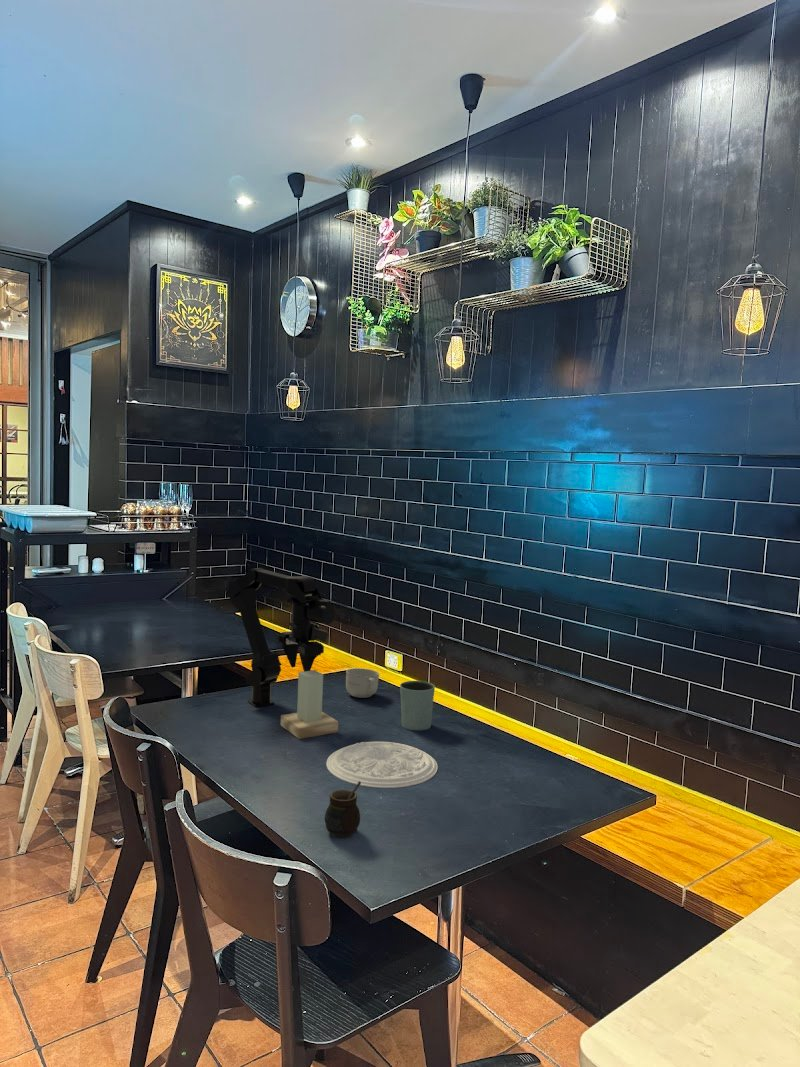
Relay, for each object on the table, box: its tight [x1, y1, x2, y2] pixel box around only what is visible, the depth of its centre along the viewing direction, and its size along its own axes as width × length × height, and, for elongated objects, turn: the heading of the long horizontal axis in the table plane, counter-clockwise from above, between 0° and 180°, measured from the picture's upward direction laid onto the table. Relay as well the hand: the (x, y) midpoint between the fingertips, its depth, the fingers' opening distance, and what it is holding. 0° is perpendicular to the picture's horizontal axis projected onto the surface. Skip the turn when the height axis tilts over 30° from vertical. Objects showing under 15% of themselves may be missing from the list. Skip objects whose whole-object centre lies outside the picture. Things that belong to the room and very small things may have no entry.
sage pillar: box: [296, 669, 324, 722], centre depth 213 cm, size 5×5×13 cm
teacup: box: [345, 667, 380, 699], centre depth 246 cm, size 14×11×8 cm
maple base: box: [280, 711, 339, 740], centre depth 214 cm, size 12×12×3 cm
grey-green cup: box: [399, 680, 436, 732], centre depth 221 cm, size 10×10×12 cm
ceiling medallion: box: [326, 741, 439, 789], centre depth 191 cm, size 28×28×3 cm
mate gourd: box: [324, 781, 361, 838], centre depth 155 cm, size 7×8×10 cm
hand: (299, 671), depth 225 cm, fingers open, 9 cm apart
